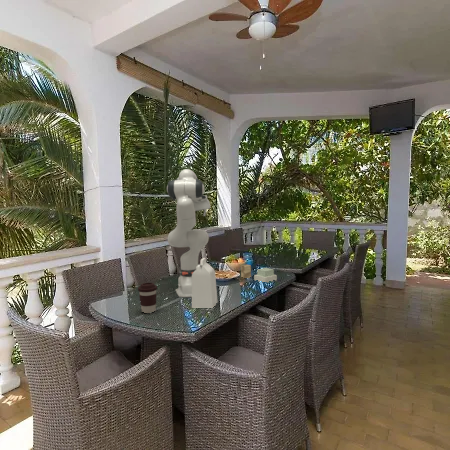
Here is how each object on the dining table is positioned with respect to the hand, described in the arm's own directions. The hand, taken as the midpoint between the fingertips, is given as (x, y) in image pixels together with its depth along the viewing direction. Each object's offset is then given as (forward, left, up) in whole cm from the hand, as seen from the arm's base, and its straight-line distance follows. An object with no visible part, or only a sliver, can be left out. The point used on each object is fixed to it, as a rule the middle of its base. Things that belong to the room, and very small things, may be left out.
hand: (198, 216), depth 257 cm
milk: (-67, -1, -45) cm, 80 cm away
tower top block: (-20, -45, -41) cm, 64 cm away
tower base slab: (-20, -45, -45) cm, 66 cm away
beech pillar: (-10, -33, -45) cm, 56 cm away
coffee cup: (-72, +29, -45) cm, 89 cm away
